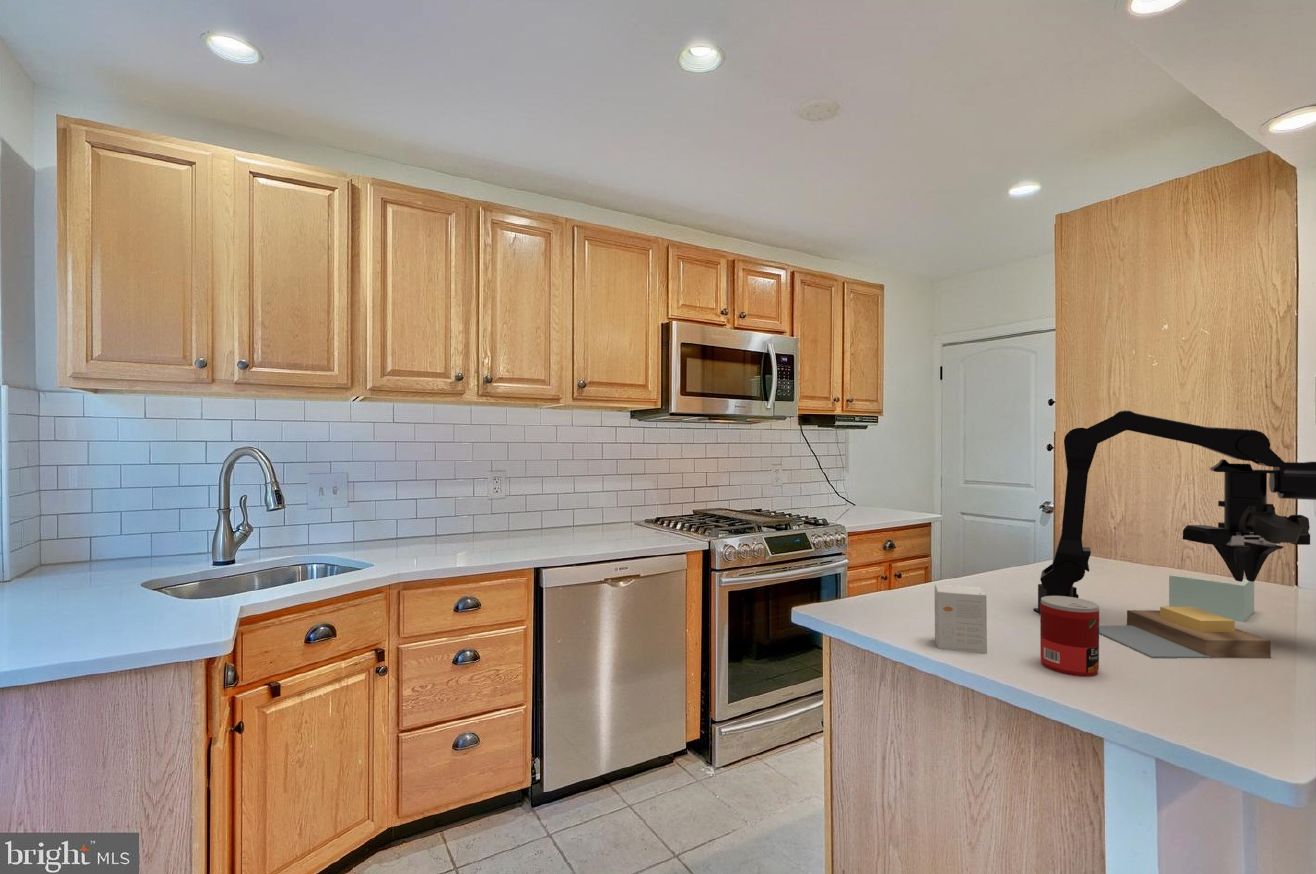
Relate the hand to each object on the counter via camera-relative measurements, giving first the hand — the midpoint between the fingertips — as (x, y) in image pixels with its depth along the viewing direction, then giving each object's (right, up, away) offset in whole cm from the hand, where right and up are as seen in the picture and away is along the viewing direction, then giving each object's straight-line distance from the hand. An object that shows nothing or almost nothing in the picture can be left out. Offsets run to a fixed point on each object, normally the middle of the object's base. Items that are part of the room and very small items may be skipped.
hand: (1244, 581), depth 114 cm
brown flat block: (-10, -11, 0) cm, 15 cm away
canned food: (-42, -11, -14) cm, 45 cm away
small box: (-55, -11, -3) cm, 56 cm away
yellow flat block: (-9, -8, 0) cm, 12 cm away
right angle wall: (+11, -11, +20) cm, 25 cm away
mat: (-20, -11, -1) cm, 22 cm away
